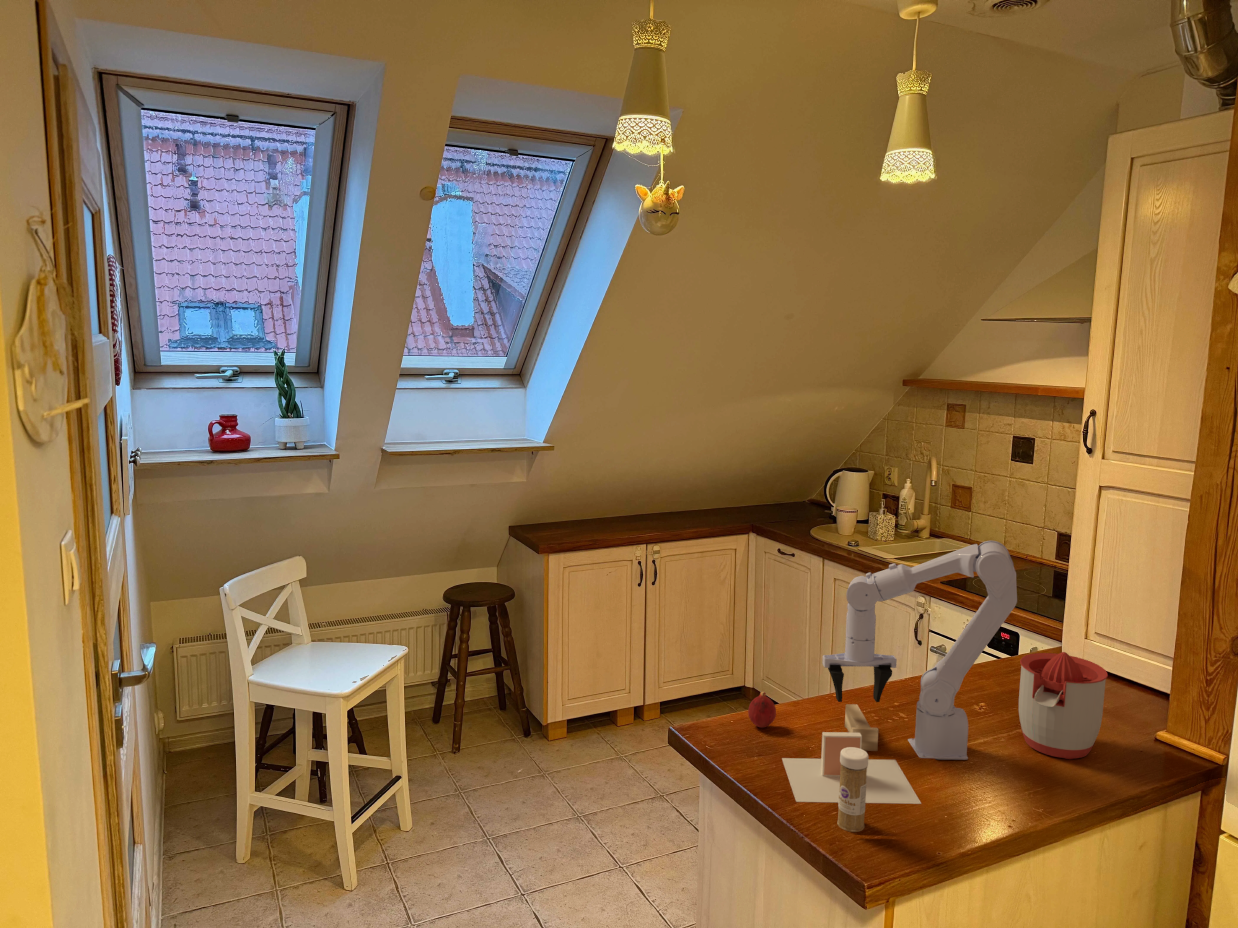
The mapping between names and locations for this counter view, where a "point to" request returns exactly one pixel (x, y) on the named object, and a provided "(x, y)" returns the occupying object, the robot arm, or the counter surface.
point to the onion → (762, 711)
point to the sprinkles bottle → (852, 789)
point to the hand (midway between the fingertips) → (857, 699)
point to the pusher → (861, 727)
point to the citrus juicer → (1061, 703)
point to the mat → (813, 787)
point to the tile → (836, 750)
